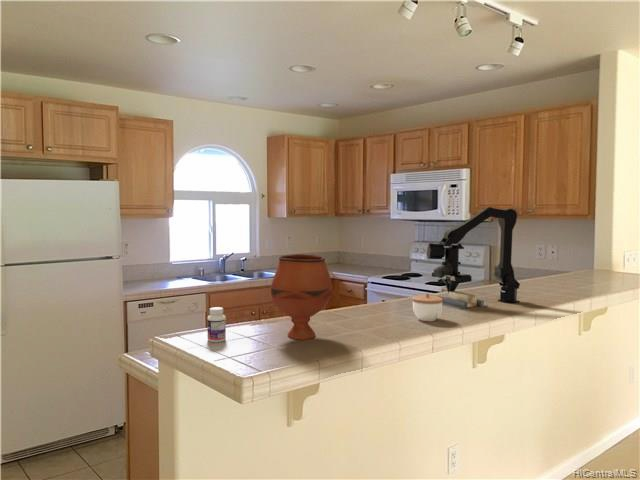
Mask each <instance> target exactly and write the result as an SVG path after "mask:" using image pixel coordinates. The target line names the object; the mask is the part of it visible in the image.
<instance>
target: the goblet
mask: <svg viewBox="0 0 640 480" xmlns="http://www.w3.org/2000/svg"><path fill="white" fill-rule="evenodd" d="M325 258H326V257H324V256H320V255H314V254H305V253H304V254H303V253H302V254H301V253H300V254H297V253H296V254H289V255H288V254H287V255H281V256H279V257H278V264H277V268H276V271H275V273H274V275H273V279H272V282H271V286H270V295H271V298H272V300H273V303H274V304H275V305H276V307H277V308H278V309H279V310H280V311H281V312H283V314H285V315H286V316H288V317H290V319H291V322H292V323H293V325H292V327H291V328H290V330H289V331H288V332H287V337H288V338H290V339H294V340H309V339H313V338H315V337H316V332H315V331H314V329H313V327H311V326H310V325H309V322H310V321H311V318H312V317H313V316H314V315H316V314H317V313H319V312H321V311H322V310H323V309H324V308H325V307H326V305H327V304H328V303H329V302H330V300H331V299H330V298H331V296H332V291H333V283H332V278H331V275H330V272H329V269H328V267H327V263H326V259H325Z"/></svg>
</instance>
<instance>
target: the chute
mask: <svg viewBox="0 0 640 480" xmlns="http://www.w3.org/2000/svg"><path fill="white" fill-rule="evenodd" d="M436 297H440V298H442V299H443V302H442V306H446V307H450V308H453V309H457V310H465V309H468V307H467V302H465V301H460V300H456V299H452V298H449V296H443V295H437V296H436ZM488 306H489V304H486V303H485V300H484V299H480V298H477V306H476V307H482V308H483V307H488Z"/></svg>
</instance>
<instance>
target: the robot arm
mask: <svg viewBox="0 0 640 480" xmlns="http://www.w3.org/2000/svg"><path fill="white" fill-rule="evenodd" d="M490 218H494V219H497V220H498V225H499V228H500V248H499V263H498V264H497V266H496V265H495V266H494V274H493V276H494V277H495V280H496V281H497V282H498V284H499V287H500V286H501V287H500V292H499V293H500V295H499V297H500V298H499V299H497V301H498V302H504V303H507V304H513V303H519V302H520V300H518V298H517V296H518V295H517V293H518V292H517V291H518V290H519V289H520V286H521V284H520V283H519V282H518V280H517V279H516V278H515V277H516V276H515V270H514V267H513V264H512V252H513V251H512V249H513V230H514V228H515V226H516V223H517V219H518V212H517V211H516V210H515V209H513V208H502V209H500V208H493V207H491V206H485V207H484V208H482V210H480V211H479V212H478V213H477V212H476V213H475V214H474V215H473V216H471V217H469V218H468V219H467V220H466V221H464V222H463V223H461V224H459V225H455V226H454V227H452V228H450V229H447V230H446V231H445V232H444V233H443V238H442V239H441V240H440V241H439V242H438V243H432V242H428V245H427V248H426V258H427V260H442V259H443V258H444V261H442V262H441V265H439V266H437V267H434V269H432V272H431V277H432V278H439V279H440V281H442V282H443V283H444V284H445V288H446V290H447V293H448V295H449V292H452V291H456V289H457V287H458V286H459V284H460V283H469V282H472V277H473V276H472V275H471V274H468V273H461V271H459V265H462V264H461V261H459V260H460V258H459V255H460V250H464V249H465V247H464V246H463V245H462V244H461V243H460V242H461V241H462V240H463V239H464V238H465V237H466V235H467V234H468V233H469V232H470V231H471V230H473V229H475V228H476V227H478V226H479V225H480V224H482V223H483V222H486V220H487V219H490Z"/></svg>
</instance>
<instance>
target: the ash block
mask: <svg viewBox="0 0 640 480" xmlns="http://www.w3.org/2000/svg"><path fill="white" fill-rule="evenodd" d="M477 297H478V294H477V293H471V292H467V291H463V290H455V291H452V292H449V294H448V298H452V299H456V300H460V301H465V302H467V308H470V307H471V308H472V307H478V306H477V299H478V298H477Z"/></svg>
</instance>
